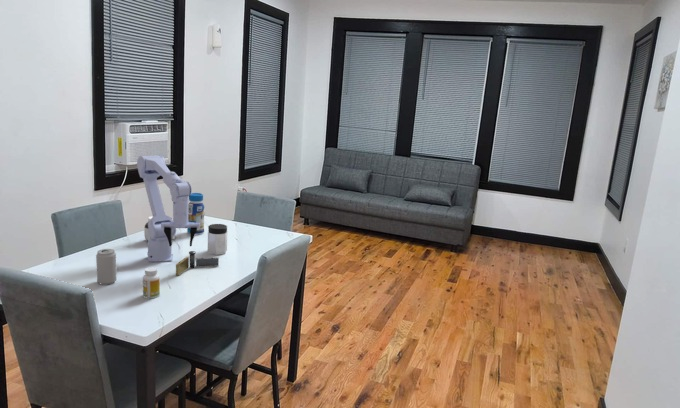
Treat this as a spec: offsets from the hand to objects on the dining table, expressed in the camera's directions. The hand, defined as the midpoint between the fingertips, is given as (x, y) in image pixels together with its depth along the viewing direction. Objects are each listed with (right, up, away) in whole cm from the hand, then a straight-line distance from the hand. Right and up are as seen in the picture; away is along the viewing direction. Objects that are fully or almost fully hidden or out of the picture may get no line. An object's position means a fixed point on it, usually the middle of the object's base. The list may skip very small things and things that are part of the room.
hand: (180, 245), depth 193 cm
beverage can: (-22, -12, -15) cm, 30 cm away
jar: (+8, -5, +26) cm, 27 cm away
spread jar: (-21, -1, +35) cm, 41 cm away
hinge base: (+7, -9, +6) cm, 13 cm away
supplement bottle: (-2, -16, -24) cm, 28 cm away
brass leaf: (+1, -10, -1) cm, 10 cm away
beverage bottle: (-9, +2, +51) cm, 52 cm away
